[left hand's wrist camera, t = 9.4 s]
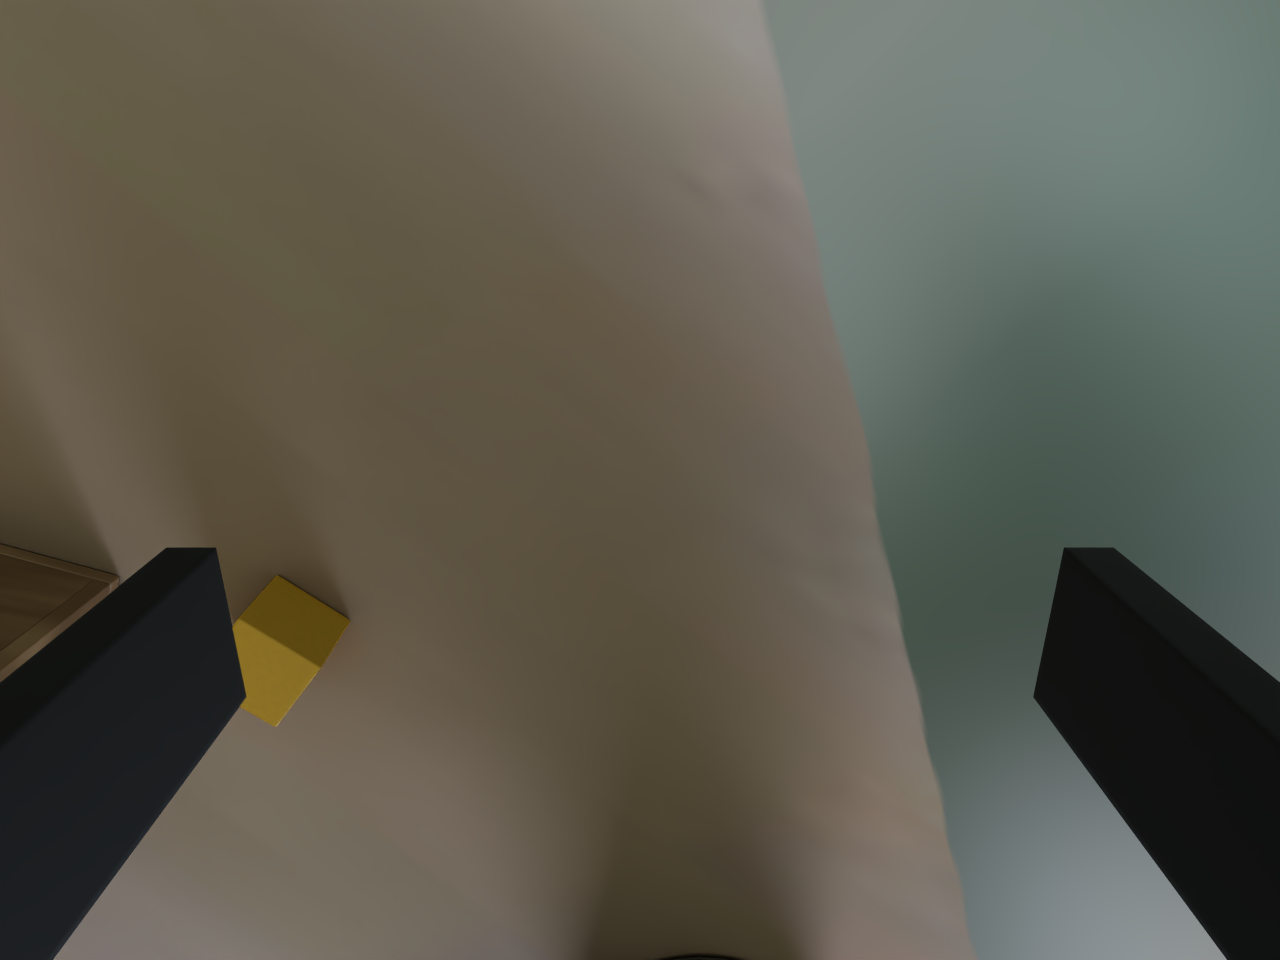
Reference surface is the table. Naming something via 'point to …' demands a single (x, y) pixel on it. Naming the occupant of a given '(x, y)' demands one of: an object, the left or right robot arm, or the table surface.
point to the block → (283, 647)
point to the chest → (42, 601)
